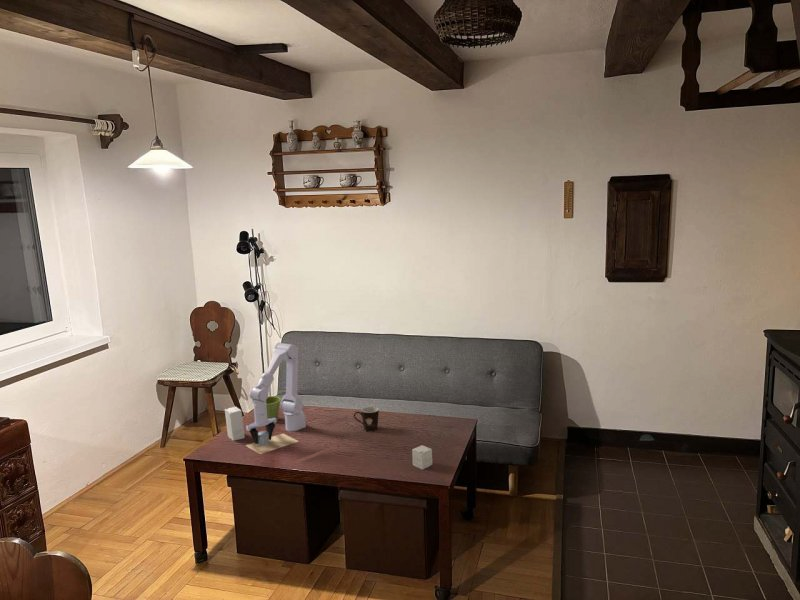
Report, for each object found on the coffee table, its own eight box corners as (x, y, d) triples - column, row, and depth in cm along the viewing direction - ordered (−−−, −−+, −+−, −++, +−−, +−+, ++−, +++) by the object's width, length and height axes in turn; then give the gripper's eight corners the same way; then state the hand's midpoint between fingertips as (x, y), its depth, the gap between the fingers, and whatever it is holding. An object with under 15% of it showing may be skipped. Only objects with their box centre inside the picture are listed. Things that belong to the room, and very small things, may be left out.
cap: (259, 441, 297) (258, 431, 296) (270, 441, 297) (269, 430, 297) (256, 445, 292) (256, 435, 291) (268, 445, 292) (267, 435, 291)
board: (283, 435, 306) (282, 433, 306) (298, 443, 296) (298, 441, 296) (245, 447, 293) (245, 445, 293) (260, 456, 283) (260, 454, 283)
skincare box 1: (245, 440, 303) (242, 410, 300) (232, 443, 299) (230, 413, 297) (239, 434, 310) (236, 405, 307) (226, 437, 306) (224, 408, 304)
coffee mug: (383, 427, 312) (382, 408, 310) (373, 433, 305) (372, 413, 303) (363, 423, 318) (362, 404, 316) (353, 429, 311) (352, 410, 309)
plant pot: (254, 421, 327) (252, 400, 325) (274, 415, 335) (272, 394, 333) (266, 427, 318) (265, 405, 316) (286, 420, 326) (285, 399, 324)
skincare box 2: (422, 461, 273) (421, 444, 271) (432, 465, 268) (432, 448, 267) (412, 465, 269) (411, 449, 267) (422, 469, 264) (422, 453, 263)
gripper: (270, 407, 300) (272, 434, 302) (242, 415, 290) (244, 443, 293) (277, 410, 295) (279, 438, 297) (249, 418, 285) (252, 447, 288)
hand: (262, 441), depth 295 cm, fingers open, 6 cm apart
